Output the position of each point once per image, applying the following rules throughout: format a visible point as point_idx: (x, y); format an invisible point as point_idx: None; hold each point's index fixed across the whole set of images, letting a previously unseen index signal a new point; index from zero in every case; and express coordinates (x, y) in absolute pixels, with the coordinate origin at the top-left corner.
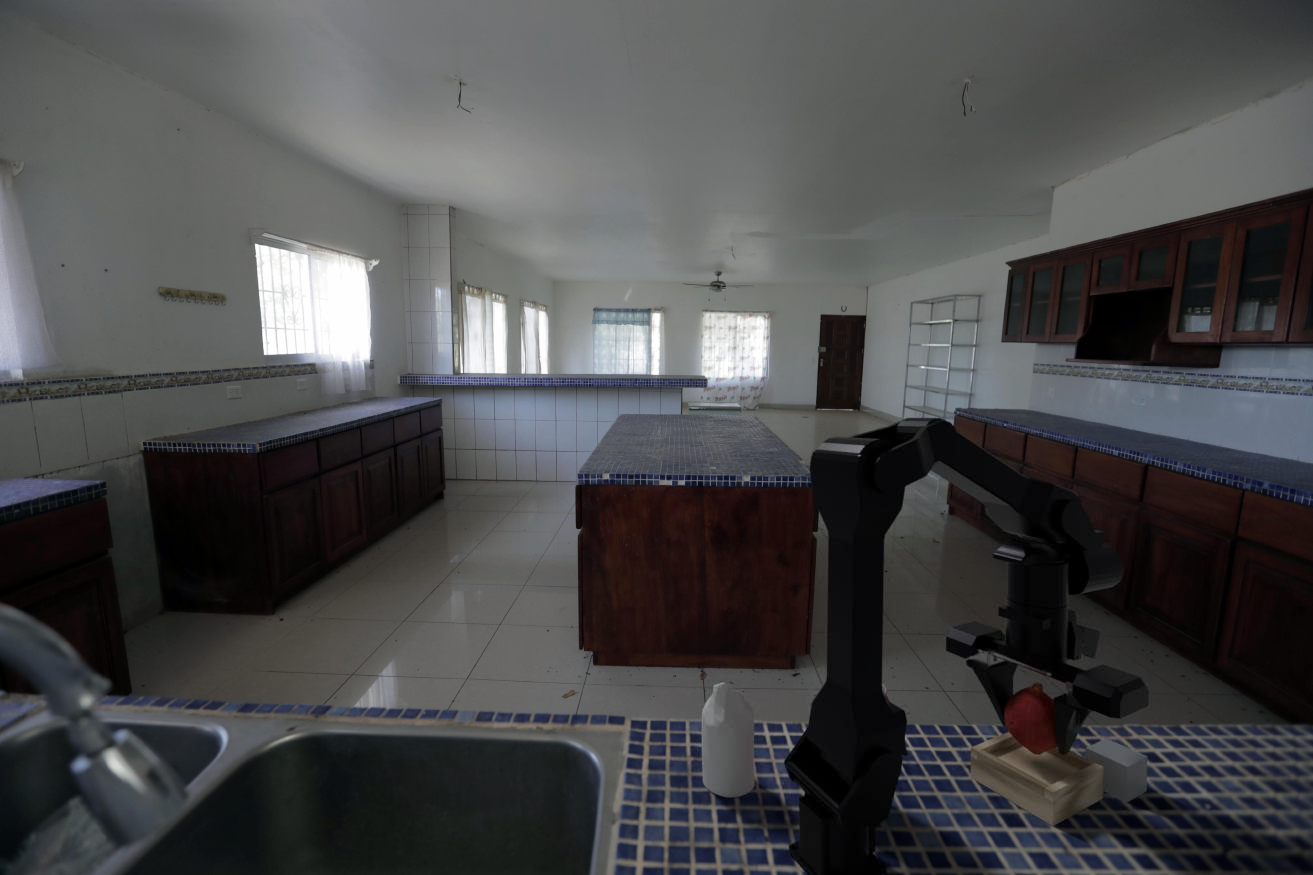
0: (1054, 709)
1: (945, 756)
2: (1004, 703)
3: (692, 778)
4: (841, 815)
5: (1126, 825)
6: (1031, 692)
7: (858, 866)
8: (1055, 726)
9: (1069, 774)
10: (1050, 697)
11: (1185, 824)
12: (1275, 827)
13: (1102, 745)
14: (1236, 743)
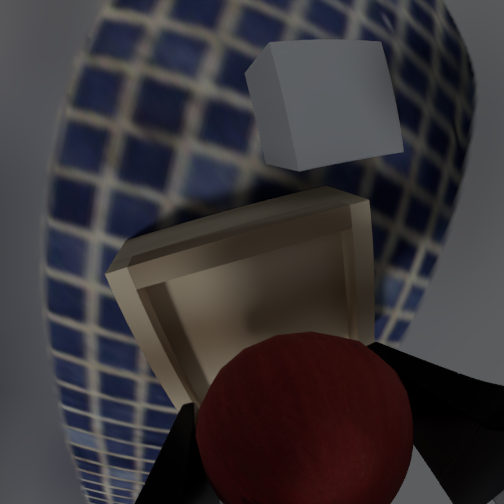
0: (446, 492)
1: (120, 388)
2: (210, 489)
3: None
4: None
5: (388, 219)
6: None
7: None
8: (415, 446)
9: (320, 276)
10: (389, 483)
11: (414, 113)
12: (433, 8)
13: (304, 100)
14: None
